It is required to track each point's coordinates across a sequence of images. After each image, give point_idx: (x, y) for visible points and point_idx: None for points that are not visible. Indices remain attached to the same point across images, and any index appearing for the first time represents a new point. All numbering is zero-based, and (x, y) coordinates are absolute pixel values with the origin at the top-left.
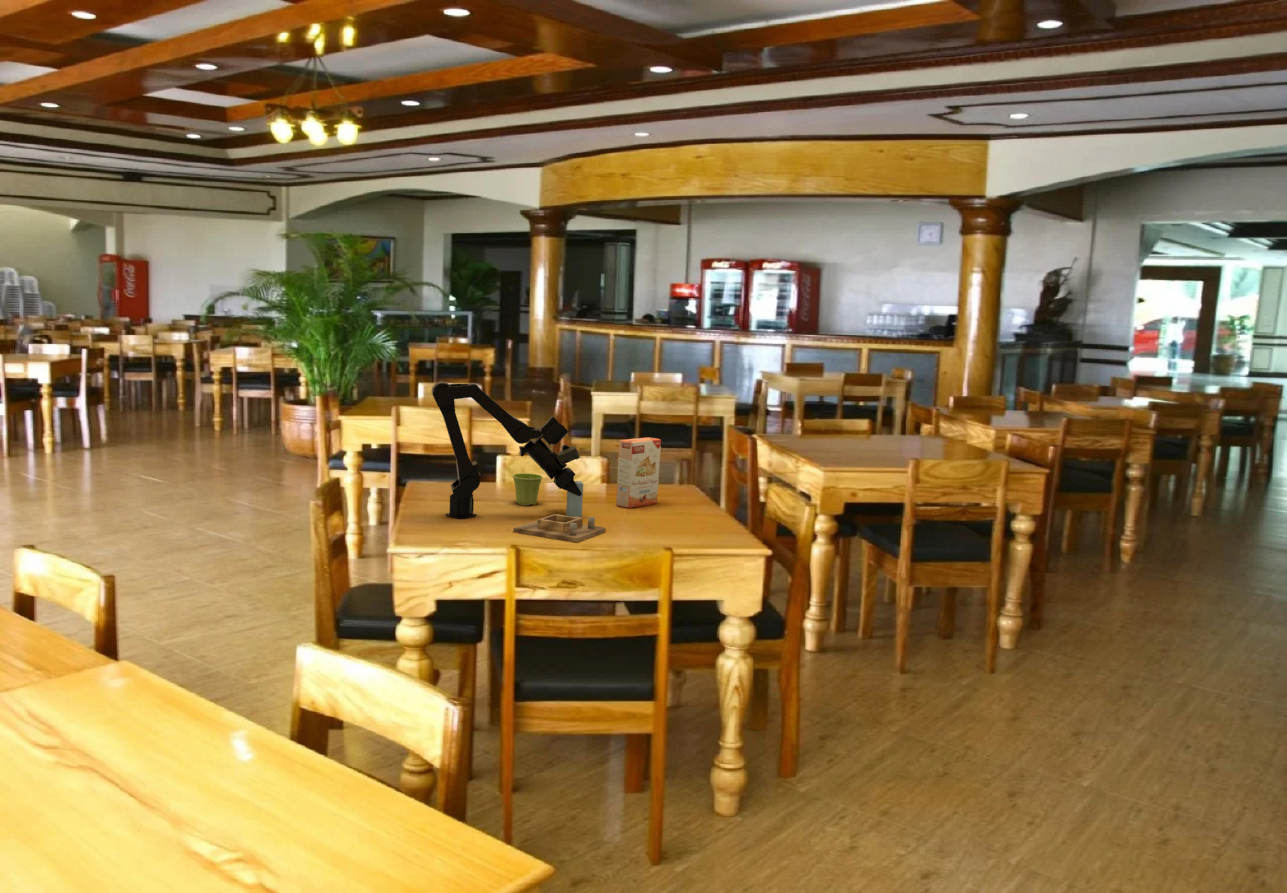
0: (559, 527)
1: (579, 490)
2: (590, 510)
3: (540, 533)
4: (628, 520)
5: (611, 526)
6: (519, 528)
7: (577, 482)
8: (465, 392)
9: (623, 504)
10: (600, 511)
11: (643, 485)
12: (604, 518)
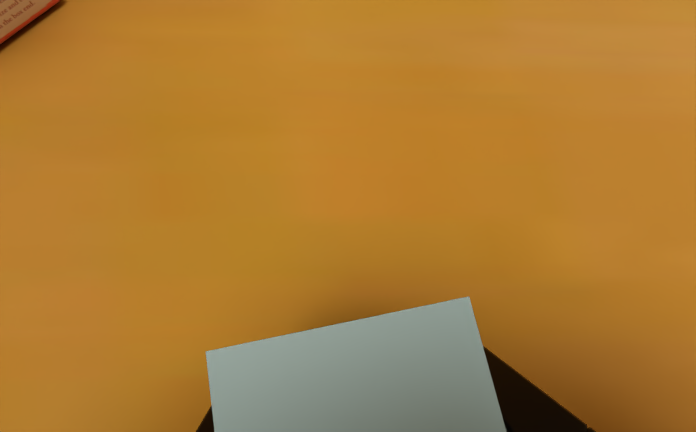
0: None
1: (496, 361)
2: (131, 257)
3: None
4: (432, 16)
5: (646, 116)
6: None
7: (374, 420)
8: None
9: (10, 17)
10: (164, 183)
11: None
12: (405, 157)
